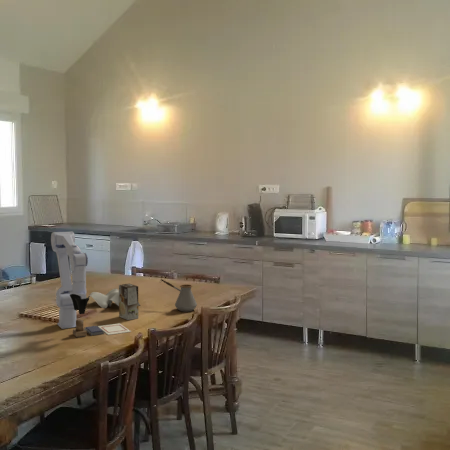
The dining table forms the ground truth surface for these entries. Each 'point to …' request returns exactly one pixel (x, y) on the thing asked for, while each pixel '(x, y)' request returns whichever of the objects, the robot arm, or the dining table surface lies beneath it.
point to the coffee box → (128, 301)
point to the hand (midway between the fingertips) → (79, 311)
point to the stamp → (79, 329)
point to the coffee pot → (184, 298)
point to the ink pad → (94, 330)
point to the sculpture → (106, 298)
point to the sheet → (114, 329)
